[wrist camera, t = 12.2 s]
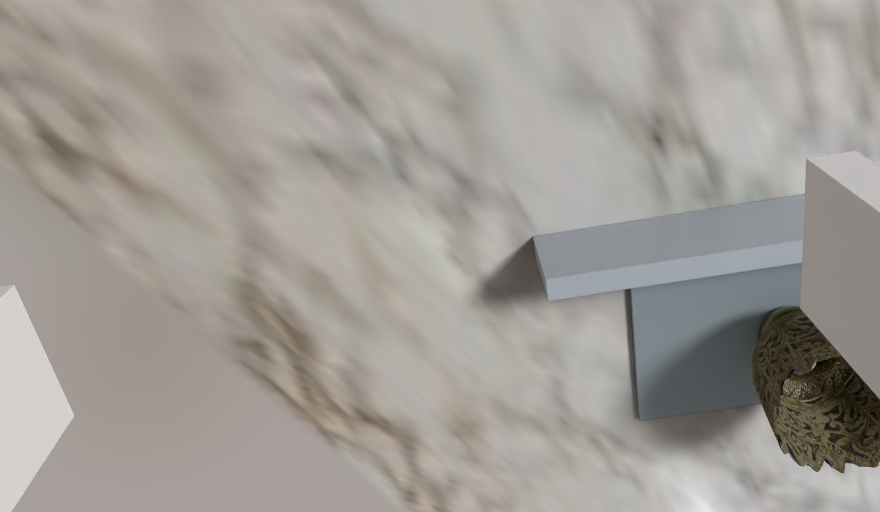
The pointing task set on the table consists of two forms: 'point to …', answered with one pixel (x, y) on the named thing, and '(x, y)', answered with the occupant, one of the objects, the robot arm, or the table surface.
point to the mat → (704, 338)
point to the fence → (671, 248)
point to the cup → (813, 395)
